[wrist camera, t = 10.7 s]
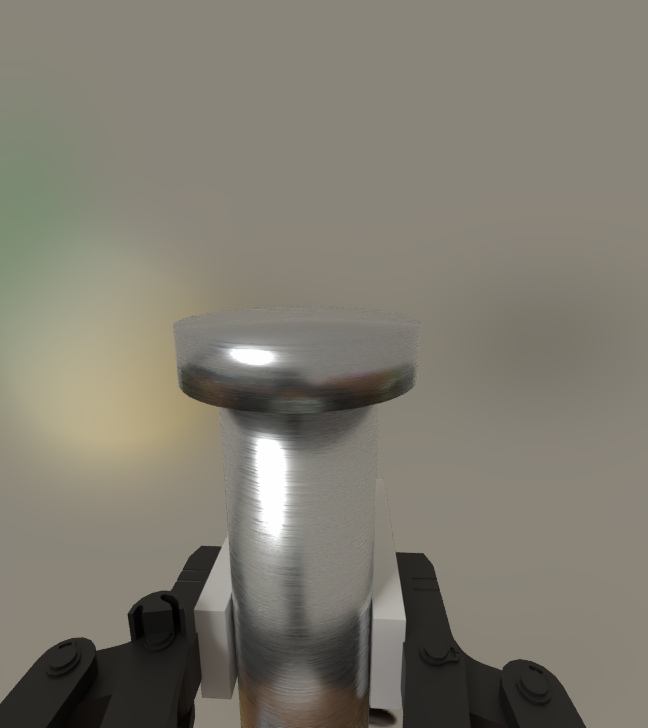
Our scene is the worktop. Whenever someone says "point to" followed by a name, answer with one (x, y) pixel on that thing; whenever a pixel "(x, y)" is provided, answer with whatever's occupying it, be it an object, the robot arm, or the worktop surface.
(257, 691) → the pin
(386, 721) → the worktop surface
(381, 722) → the worktop surface
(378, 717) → the worktop surface
